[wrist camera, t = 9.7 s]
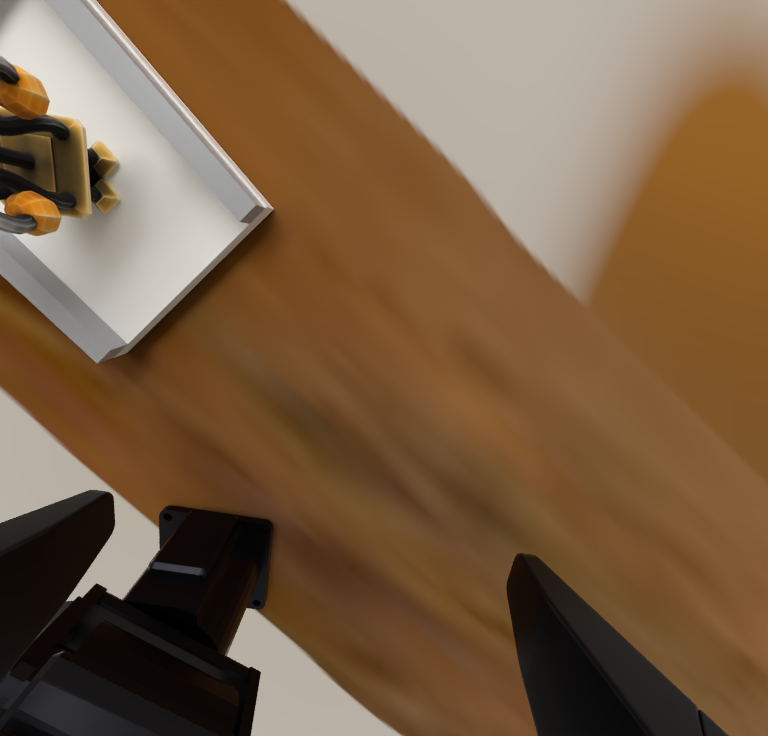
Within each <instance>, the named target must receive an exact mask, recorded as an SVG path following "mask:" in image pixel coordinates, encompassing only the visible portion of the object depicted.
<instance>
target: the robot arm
mask: <svg viewBox="0 0 768 736" xmlns="http://www.w3.org/2000/svg"><path fill="white" fill-rule="evenodd" d="M168 514H170V515H171V516H169V515H168ZM114 526H115V514H114V498H113V495H112V494H111V493H109V492H105V491H98V490H89V491H86V492H83V493H81V494H78V495H75V496H73V497H70V498H67V499H64V500H62V501H59V502H56V503H54V504H51V505H48V506H45V507H43V508H40V509H38V510H35V511H32V512H29V513H27V514H24V515H21V516H19V517H16V518H13V519H10V520H8V521H5V522H2V523H0V736H251V729H252V723H253V717H254V711H255V705H256V698H257V692H258V686H259V680H260V674H261V672H260V671H258V670H256V669H254V668H253V667H250V668H247V667H246V666H244V665H242V664H240V663H238V662H236V661H235V660H232V659H231V658H229V657H227V654H228V651H229V648H230V646H231V644H232V641H233V639H234V637H235V634H236V632H237V629H238V627H239V624H240V622H241V619H242V617H243V615H244V612H245V610H246V608H251V609H261V608H263V607H264V605H265V602H266V599H267V589H268V577H269V566H270V555H271V544H272V532H273V525H272V523H271V522H270V521H269V520H266V519H259V518H253V517H246V516H239V515H232V514H225V513H219V512H212V511H205V510H198V509H192V508H185V507H178V506H166V507H165V508H164V509H163V510H162V511H161V513H160V515H159V534H160V550H159V551H158V553H157V554H156V555H155V557H154V558H153V559H152V560H151V562H150V563H149V566H148V567H147V569H146V570H145V571H144V572H143V574H142V575H141V576H140V578H139V579H138V580H137V581H136V583H135V584H134V585H133V587H132V588H131V589H130V590H129V592H128V593H127V594H126V595H125V597H124V598H123V599H122V600H121V599H119V598H118V597H116V596H114V595H112V594H110V593H108V592H106V591H107V589H106V588H104V587H102V586H101V585H99V584H95V585H94V586H93V587H92V588H91V589H90V591H88V593H87V594H86V595H85V596H84V597H83V598H81V597H77V598H76V599H75V600H74V601H67V602H65V601H66V600H67V599H68V597H69V595H70V594H71V593H72V592H73V590H74V589H75V587H76V586H77V584H78V583H79V581H80V580H81V579H82V577H83V576H84V574H85V573H86V571H87V570H88V568H89V567H90V565H91V564H92V562H93V561H94V560H95V558H96V556H97V555H98V554H99V552H100V551H101V549H102V548H103V546H104V545H105V543H106V542H107V541H108V539H109V538H110V536H111V534H112V532H113V530H114ZM261 527H263V528H265V529H266V530H263V529H262V528H261ZM507 597H508V603H509V608H510V614H511V620H512V626H513V632H514V637H515V643H516V649H517V655H518V660H519V665H520V670H521V674H522V678H523V682H524V686H525V690H526V693H527V697H528V701H529V704H530V708H531V712H532V715H533V719H534V723H535V726H536V730H537V734H538V736H728V735H727V734H726V733H725V732H724V731H723V730H722V729H721V728H720V727H719V726H718V725H717V724H716V723H714V722H713V721H712V720H711V719H710V718H709V717H708V716H707V715H706V714H705V713H704V712H703V711H701V710H698V709H697V706H696V705H695V704H694V703H693V702H692V701H691V700H690V699H689V698H688V697H687V696H686V695H684V694H683V693H682V692H681V691H680V690H679V689H678V688H677V687H676V686H675V685H674V684H673V683H672V682H671V681H670V680H668V679H667V678H666V677H665V676H664V675H663V674H662V673H661V672H660V671H659V670H658V669H657V668H656V667H655V666H653V665H652V664H651V663H650V662H649V661H648V660H647V659H646V658H645V657H644V656H643V655H642V654H641V653H640V652H639V651H637V650H636V649H635V648H634V647H633V646H632V645H631V644H630V643H629V642H628V641H627V640H626V639H625V638H624V637H623V636H621V635H620V634H619V633H618V632H617V631H616V630H615V629H614V628H613V627H612V626H611V625H610V624H609V623H608V622H607V621H605V620H604V619H603V618H602V617H601V616H600V615H599V614H598V613H597V612H596V611H595V610H594V609H593V608H592V607H591V606H589V605H588V604H587V603H586V602H585V601H584V600H583V599H582V598H581V597H580V596H579V595H578V594H577V593H576V592H575V591H573V590H572V589H571V588H570V587H569V586H568V585H567V584H566V583H565V582H564V581H563V580H562V579H561V578H560V577H559V576H557V575H556V574H555V573H554V572H553V571H552V570H551V569H550V568H549V567H548V566H547V565H546V564H545V563H544V562H543V561H541V560H540V559H539V558H538V557H537V556H535V555H529V554H523V553H519V554H517V555H516V557H515V559H514V562H513V565H512V568H511V571H510V574H509V577H508V580H507Z"/></svg>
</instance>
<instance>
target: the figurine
mask: <svg viewBox="0 0 768 736" xmlns="http://www.w3.org/2000/svg"><path fill="white" fill-rule="evenodd" d="M49 103H50V100H49V98H48V96H47V93H46V91H45V89H44V87H43V85H42V83H41V81H40V80H39V79H37V78H36V77H35V76H33V75H32V74H30V73H28V72H27V71H25V70H23V69H22V68H20V67H18V66H17V65H14V64H11V63H9V62H8V61H7V60H6V59H5V58H3V57H2V56H0V106H1V107H0V201H1V203H2V204H3V205H4V206H5V208H4V211H5V213H6V214H5V213H2V212H0V230H2V231H4V232H8V233H14V234H19V235H20V234H24V233H27V234H29V235H33V236H41V235H46V234H49V233H52V232H56V231H57V230H58V228H59V225H60V222H61V219H62V217H61V216H67V217H74V218H80V219H87V218H88V217H89V216H90V215H91V214H92V207H91V201H92V202H93V203H94V205H95V206H96V207H97V208H98V209H99V210H100V211H101V213H104V214H107V213H108V212H109V211H110V210H111V209H112V208H113V207H115V206H116V205H117V204H118V203H119V202H120V201H121V198H120V197H119V196H118V194H117V193H116V192H115V191H114V190H113V189H112V187H111V186H110V185H109V184H108V183H107V182H106V180H104V179H103V178H105V177H106V176H107V175H108V174H109V173H110V172H111V171H112V170H113V169H114V168H115V167H116V166H117V165H118V164H119V162H118V160H117V159H116V158H115V156H114V155H113V154H112V153H111V152H110V150H109V149H108V148H107V147H106V146H105V144H104V143H103V142H102V141H98V140H97V141H96V142H95V143H94V144H93V145H92V146H91V147H90V148H89V149H87V139H86V128H85V127H84V126H83V124H82V123H81V122H80V121H79V120H78V119H75V118H69V117H63V116H56V115H50V114H46V113H47V110H48V107H49Z"/></svg>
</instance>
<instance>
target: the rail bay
mask: <svg viewBox="0 0 768 736" xmlns="http://www.w3.org/2000/svg"><path fill="white" fill-rule="evenodd" d="M0 56H2V57H3V58H5V59H6V60H7V61H8V62H9V63H11V64H14V65H17V66H18V67H20V68H22V69H23V70H25V71H27V72H28V73H30V74H32V75H33V76H35V77H36V78H37V79H39V80H40V81H41V83H42V85H43V87H44V89H45V91H46V93H47V96H48V98H49V100H50V103H49V107H48V110H47V113H46V114H50V115H56V116H63V117H69V118H75V119H78V120H79V121H80V122H81V123H82V124H83V126H84V127H85V128H86V139H87V149H89V148H90V147H91V146H92V145H93V144H94V143H95V142H96V141H97V140H98V141H102V142H103V143H104V144H105V146H106V147H107V148H108V149H109V150H110V152H111V153H112V154H113V155H114V156H115V158H116V159H117V160H118V162H119V164H118V165H117V166H116V167H115V168H114V169H113V170H112V171H111V172H110V173H109V174H108V175H107V176H106V177H105V178H103V179H104V180H106V182H107V183H108V184H109V185H110V186H111V187H112V189H113V190H114V191H115V192H116V193H117V194H118V196H119V197H120V198H121V201H120V202H119V203H118V204H117V205H116V206H115V207H113V208H112V209H111V210H110V211H109V212H108V213H107V214H104V213H101V211H100V210H99V209H98V208H97V207H96V206H95V205H94V203H93V202H92V201H91V207H92V214H91V215H90V216H89V217H88V218H87V219H80V218H74V217H67V216H61V217H62V219H61V222H60V225H59V228H58V230H57V231H56V232H52V233H49V234H46V235H41V236H33V235H29V234H27V233H24V234H20V235H19V234H14V233H8V232H4V231H2V230H0V274H1V275H2V276H3V277H4V278H5V279H6V280H7V281H8V282H10V283H11V284H12V285H13V286H14V287H15V288H16V289H17V290H18V291H19V292H20V293H21V294H22V295H24V296H25V297H26V298H27V299H28V300H29V301H30V302H31V303H32V304H33V305H34V306H35V307H37V308H38V309H39V310H40V311H41V312H42V313H43V314H44V315H45V316H46V317H47V318H48V319H49V320H51V321H52V322H53V323H54V324H55V325H56V326H57V327H58V328H59V329H60V330H61V331H62V332H64V333H65V334H66V335H67V336H68V337H69V338H70V339H71V340H72V341H73V342H74V343H75V344H77V345H78V346H79V347H80V348H81V349H82V350H83V351H84V352H85V353H86V354H87V355H88V356H89V357H91V358H92V359H93V360H94V361H95V362H96V363H100V362H102V361H105V360H108V359H110V358H115V357H118V356H120V355H123V354H126V353H128V352H129V351H130V350H131V349H132V348H133V347H134V346H135V345H136V344H137V343H138V342H139V341H140V340H141V339H142V338H143V337H144V336H145V335H146V334H147V333H148V332H149V331H150V330H151V329H152V328H153V327H154V326H155V325H156V324H157V323H158V322H159V321H160V320H161V319H162V318H163V317H164V316H165V315H166V314H167V313H168V312H169V311H171V310H172V309H173V308H174V307H175V306H176V305H177V304H178V303H179V302H180V301H181V300H182V299H183V298H184V297H185V296H186V295H187V294H188V293H189V292H190V291H191V290H192V289H193V288H194V287H195V286H196V285H197V284H198V283H199V282H200V281H201V280H202V279H203V278H204V277H205V276H206V275H207V274H208V273H209V272H210V271H211V270H212V269H213V268H214V267H215V266H216V265H217V264H219V263H220V262H221V261H222V260H223V259H224V258H225V257H226V256H227V255H228V254H229V253H230V252H231V251H232V250H233V249H234V248H235V247H236V246H237V245H238V244H239V243H240V242H241V241H242V240H243V239H244V238H245V237H246V236H247V235H248V234H249V233H250V232H251V231H252V230H253V229H254V228H255V227H256V226H257V225H258V224H259V223H260V222H261V221H262V220H263V219H264V218H265V217H267V216H268V215H269V214H270V213H271V212H272V211H273V210H274V209H273V207H272V206H271V205H270V204H269V203H268V202H267V200H266V199H265V198H264V197H263V196H262V195H261V193H260V192H259V191H258V190H257V189H256V187H255V186H254V185H253V184H252V183H251V182H250V180H249V179H248V178H247V177H246V176H245V175H244V173H243V172H242V171H241V170H240V169H239V168H238V166H237V165H236V164H235V163H234V162H233V160H232V159H231V158H230V157H229V156H228V155H227V153H226V152H225V151H224V150H223V149H222V148H221V146H220V145H219V144H218V143H217V142H216V140H215V139H214V138H213V137H212V136H211V135H210V133H209V132H208V131H207V130H206V129H205V128H204V126H203V125H202V124H201V123H200V122H199V121H198V119H197V118H196V117H195V116H194V115H193V113H192V112H191V111H190V110H189V109H188V108H187V106H186V105H185V104H184V103H183V102H182V101H181V99H180V98H179V97H178V96H177V95H176V93H175V92H174V91H173V90H172V89H171V88H170V86H169V85H168V84H167V83H166V82H165V81H164V79H163V78H162V77H161V76H160V75H159V74H158V72H157V71H156V70H155V69H154V68H153V66H152V65H151V64H150V63H149V62H148V61H147V59H146V58H145V57H144V56H143V55H142V54H141V52H140V51H139V50H138V49H137V48H136V46H135V45H134V44H133V43H132V42H131V41H130V39H129V38H128V37H127V36H126V35H125V34H124V32H123V31H122V30H121V29H120V28H119V27H118V25H117V24H116V23H115V22H114V21H113V19H112V18H111V17H110V16H109V15H108V14H107V12H106V11H105V10H104V9H103V8H102V7H101V5H100V4H99V3H98V2H97V1H96V0H0ZM0 107H1V106H0ZM4 208H5V206H4V205H3V204H2V203H1V201H0V212H2V213H5V211H4ZM5 214H6V213H5Z"/></svg>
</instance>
